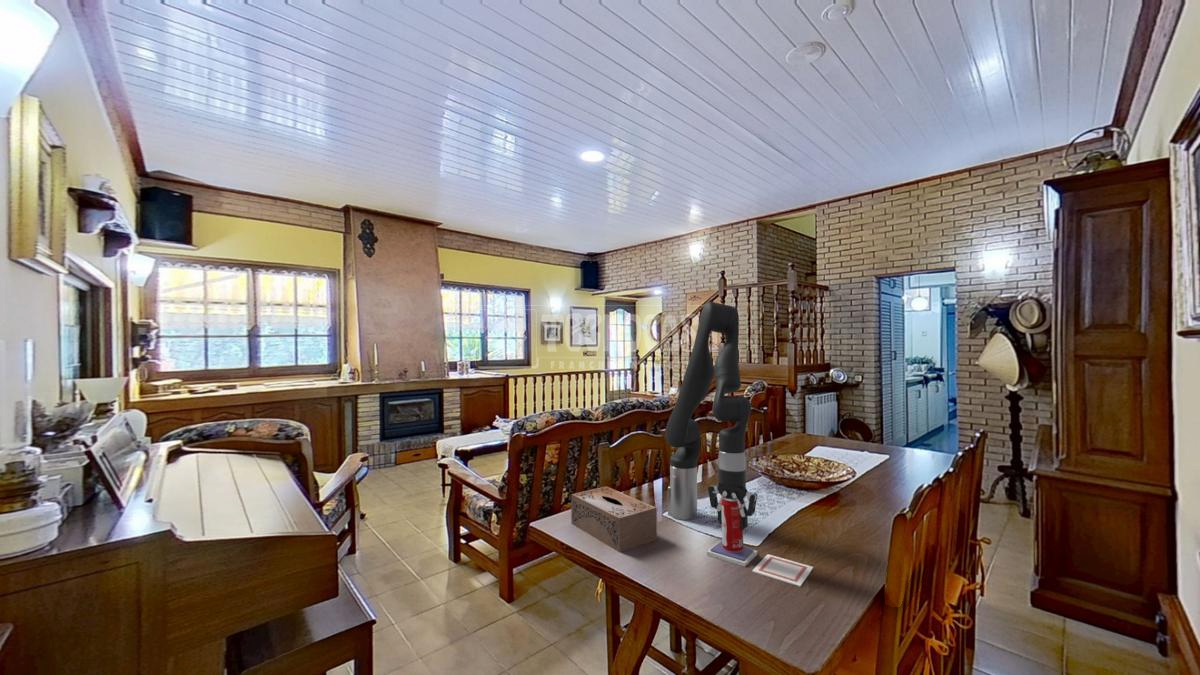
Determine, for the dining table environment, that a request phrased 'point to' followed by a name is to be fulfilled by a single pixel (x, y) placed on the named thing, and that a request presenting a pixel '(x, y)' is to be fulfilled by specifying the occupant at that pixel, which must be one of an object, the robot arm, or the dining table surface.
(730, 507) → the beverage can
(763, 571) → the marked card
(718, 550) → the ink pad
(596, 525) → the tissue box cover
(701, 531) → the dining table surface
